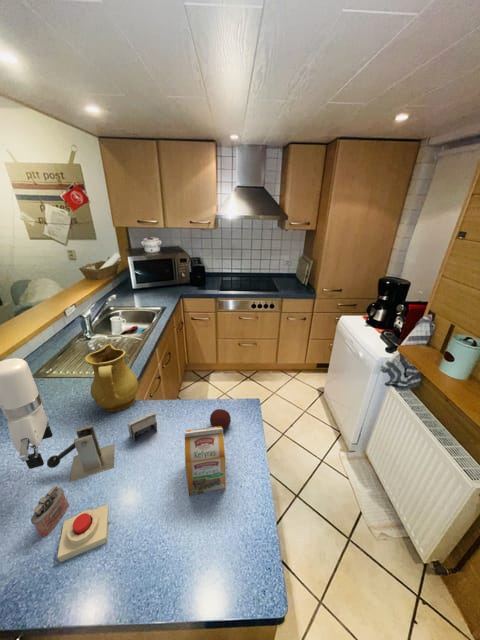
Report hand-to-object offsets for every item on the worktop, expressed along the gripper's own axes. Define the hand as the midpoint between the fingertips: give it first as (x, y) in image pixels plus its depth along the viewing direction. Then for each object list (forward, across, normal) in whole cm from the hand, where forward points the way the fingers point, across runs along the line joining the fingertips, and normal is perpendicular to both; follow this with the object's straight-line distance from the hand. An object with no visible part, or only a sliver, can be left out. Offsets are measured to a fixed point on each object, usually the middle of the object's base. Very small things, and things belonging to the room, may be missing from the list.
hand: (41, 451), depth 71 cm
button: (+8, +20, +11) cm, 24 cm away
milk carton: (+11, +17, +43) cm, 48 cm away
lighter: (+12, +14, +4) cm, 18 cm away
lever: (+4, 0, +7) cm, 8 cm away
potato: (+10, +1, +53) cm, 54 cm away
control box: (+11, +20, +11) cm, 25 cm away
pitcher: (+11, -27, +17) cm, 34 cm away
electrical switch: (+11, -5, +27) cm, 30 cm away
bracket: (+11, 0, +11) cm, 16 cm away
